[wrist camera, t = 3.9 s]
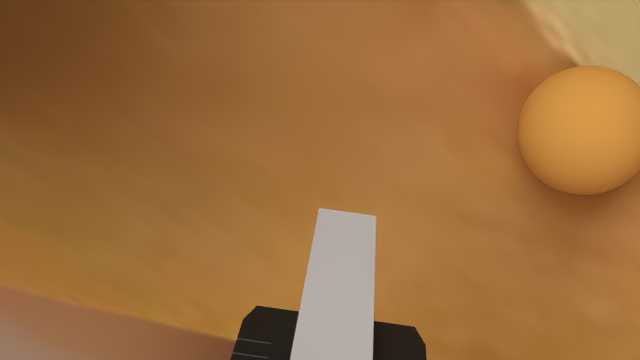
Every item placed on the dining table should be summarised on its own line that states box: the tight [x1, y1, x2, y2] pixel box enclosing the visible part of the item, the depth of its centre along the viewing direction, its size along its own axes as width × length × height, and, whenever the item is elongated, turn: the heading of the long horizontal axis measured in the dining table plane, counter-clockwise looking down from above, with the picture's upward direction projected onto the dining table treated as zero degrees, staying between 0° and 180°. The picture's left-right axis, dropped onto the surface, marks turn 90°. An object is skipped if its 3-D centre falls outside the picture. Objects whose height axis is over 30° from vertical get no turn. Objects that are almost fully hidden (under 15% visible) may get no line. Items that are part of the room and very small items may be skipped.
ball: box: [517, 66, 640, 195], centre depth 26 cm, size 6×6×6 cm
